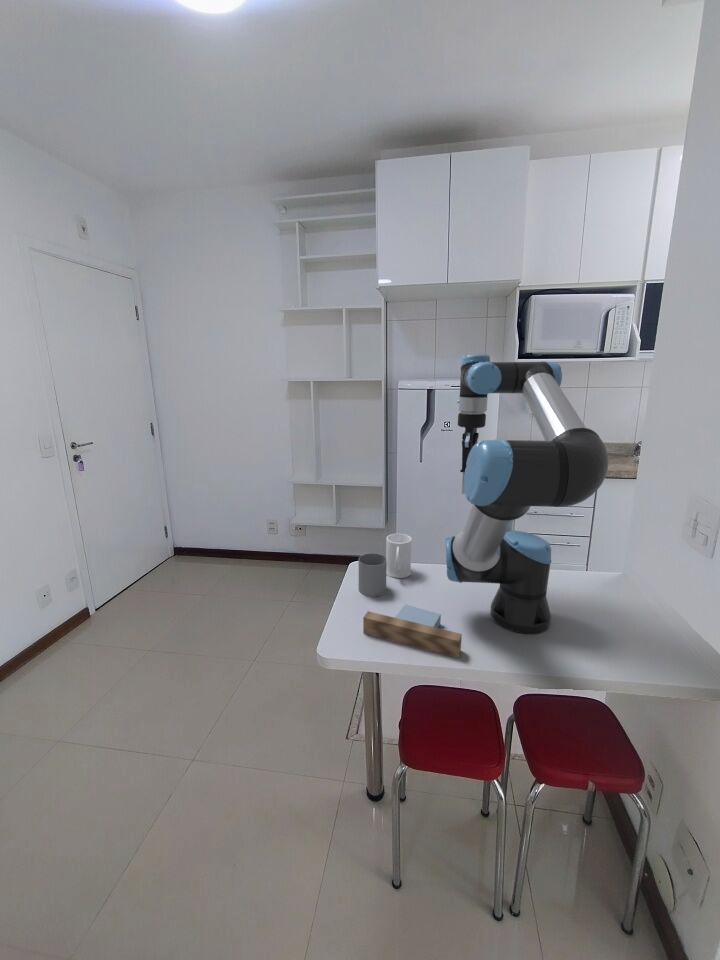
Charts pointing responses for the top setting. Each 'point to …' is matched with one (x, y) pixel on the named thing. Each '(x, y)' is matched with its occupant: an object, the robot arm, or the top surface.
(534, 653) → the top surface
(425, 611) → the block
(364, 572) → the cup
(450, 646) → the brown wooden bar
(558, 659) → the top surface
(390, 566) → the mug
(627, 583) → the top surface
